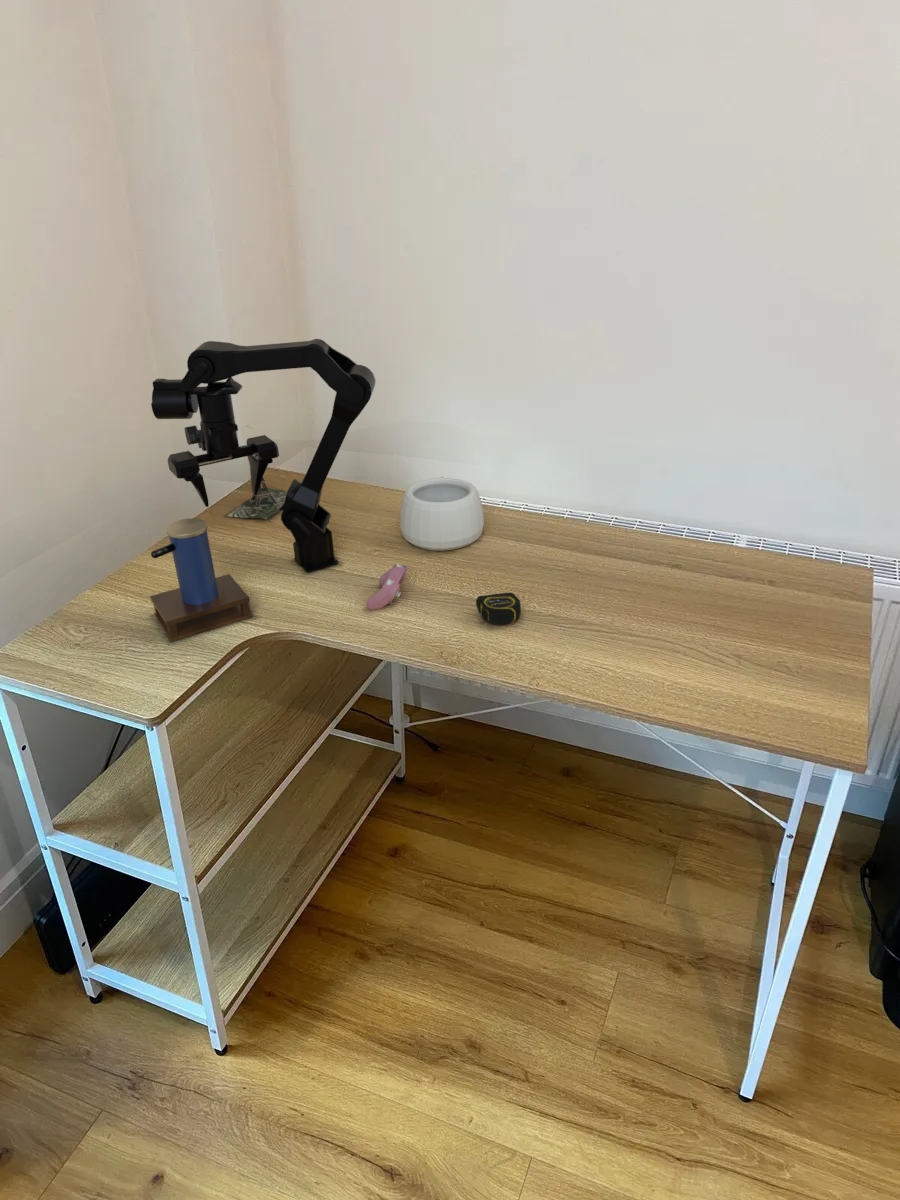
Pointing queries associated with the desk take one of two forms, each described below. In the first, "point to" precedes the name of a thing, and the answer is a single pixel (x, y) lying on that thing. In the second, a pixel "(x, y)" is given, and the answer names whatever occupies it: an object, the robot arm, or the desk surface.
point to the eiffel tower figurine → (261, 503)
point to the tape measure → (499, 608)
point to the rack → (201, 610)
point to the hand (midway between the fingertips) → (231, 500)
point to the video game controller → (388, 587)
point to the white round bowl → (441, 514)
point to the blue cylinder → (191, 560)
